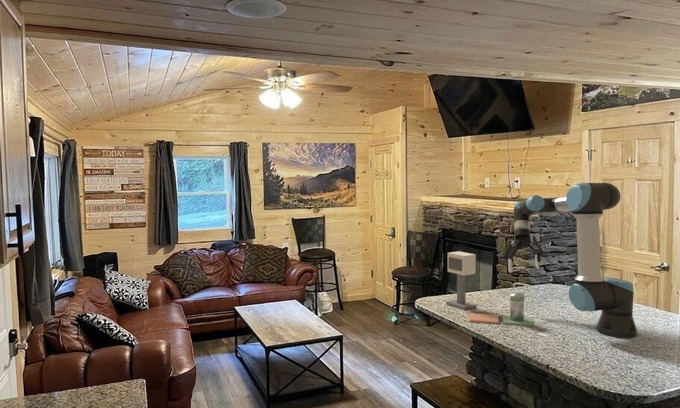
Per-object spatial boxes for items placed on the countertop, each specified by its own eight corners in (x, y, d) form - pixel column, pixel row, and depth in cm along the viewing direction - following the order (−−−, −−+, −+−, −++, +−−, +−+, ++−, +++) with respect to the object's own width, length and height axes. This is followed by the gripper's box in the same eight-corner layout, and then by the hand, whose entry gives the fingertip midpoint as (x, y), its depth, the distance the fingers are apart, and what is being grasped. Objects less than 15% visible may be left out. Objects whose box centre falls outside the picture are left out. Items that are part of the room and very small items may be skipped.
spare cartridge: (524, 321, 227) (524, 295, 227) (510, 321, 229) (510, 295, 228) (523, 317, 233) (523, 292, 233) (509, 317, 235) (509, 292, 234)
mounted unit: (463, 310, 251) (463, 256, 249) (445, 304, 262) (446, 252, 261) (476, 307, 256) (477, 254, 254) (458, 301, 267) (459, 251, 265)
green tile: (533, 326, 224) (533, 324, 224) (503, 324, 227) (503, 322, 227) (531, 319, 235) (531, 317, 235) (502, 317, 238) (502, 315, 238)
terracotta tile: (498, 323, 228) (498, 321, 228) (469, 321, 231) (469, 319, 231) (497, 317, 239) (497, 315, 239) (469, 315, 242) (469, 313, 242)
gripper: (549, 229, 248) (552, 269, 238) (502, 237, 264) (503, 275, 254) (543, 223, 243) (546, 263, 234) (495, 232, 259) (496, 270, 249)
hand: (523, 270), depth 244 cm, fingers open, 13 cm apart
